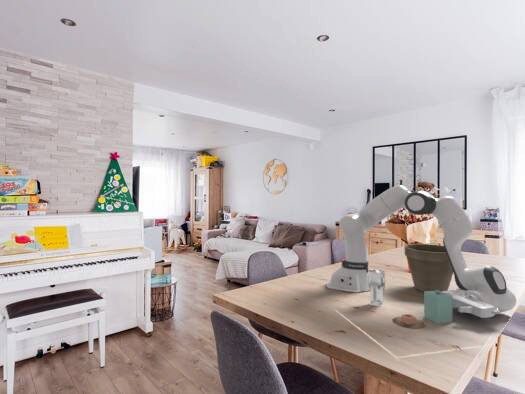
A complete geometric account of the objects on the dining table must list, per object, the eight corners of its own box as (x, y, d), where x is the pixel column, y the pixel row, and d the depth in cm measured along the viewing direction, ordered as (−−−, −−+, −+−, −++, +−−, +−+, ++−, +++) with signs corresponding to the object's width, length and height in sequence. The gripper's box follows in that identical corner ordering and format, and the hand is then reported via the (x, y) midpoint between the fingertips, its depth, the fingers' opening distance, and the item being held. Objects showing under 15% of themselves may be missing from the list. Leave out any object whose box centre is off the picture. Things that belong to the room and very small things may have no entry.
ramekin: (407, 324, 111) (407, 318, 111) (401, 321, 115) (401, 314, 115) (415, 323, 112) (415, 317, 112) (409, 320, 116) (409, 313, 116)
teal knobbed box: (437, 324, 112) (437, 293, 112) (424, 317, 119) (424, 288, 119) (452, 322, 114) (452, 292, 114) (438, 315, 120) (438, 287, 120)
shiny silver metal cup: (381, 302, 137) (381, 269, 137) (388, 307, 130) (387, 272, 130) (365, 302, 137) (365, 269, 137) (371, 308, 130) (371, 272, 130)
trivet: (393, 327, 110) (393, 325, 110) (391, 316, 121) (391, 315, 121) (427, 332, 106) (427, 330, 106) (423, 320, 117) (423, 318, 117)
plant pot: (469, 299, 141) (469, 252, 141) (412, 295, 146) (411, 250, 146) (448, 284, 166) (447, 244, 166) (399, 281, 171) (399, 243, 171)
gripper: (503, 320, 110) (472, 324, 107) (455, 302, 130) (428, 304, 127) (503, 303, 110) (472, 306, 107) (455, 287, 130) (428, 289, 127)
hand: (448, 305), depth 117 cm, fingers open, 8 cm apart
